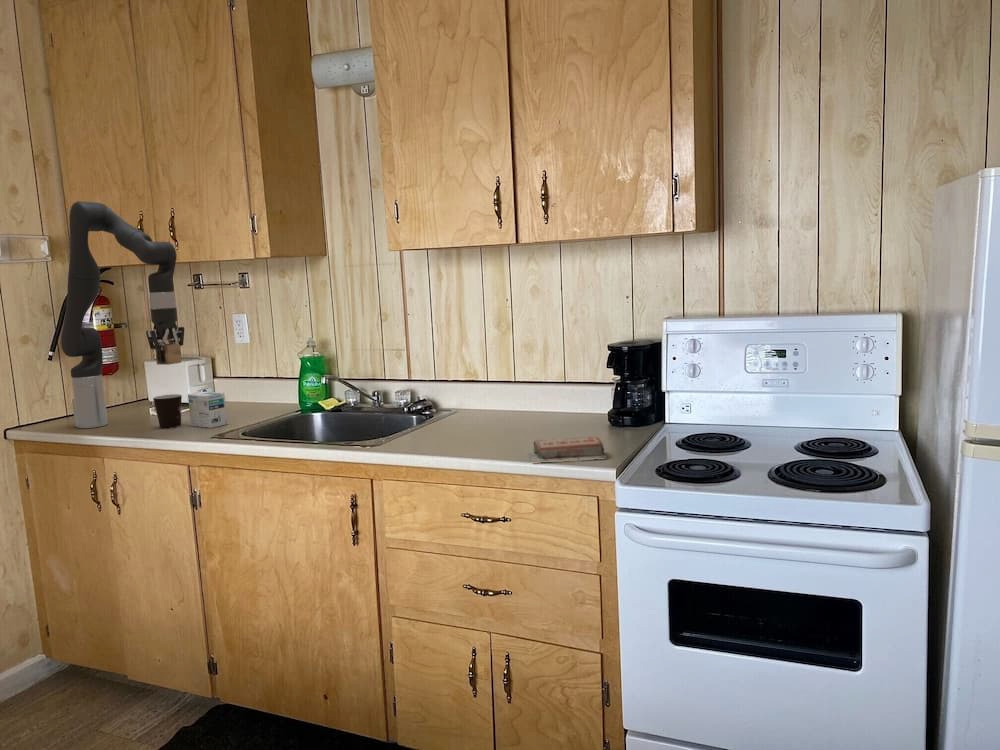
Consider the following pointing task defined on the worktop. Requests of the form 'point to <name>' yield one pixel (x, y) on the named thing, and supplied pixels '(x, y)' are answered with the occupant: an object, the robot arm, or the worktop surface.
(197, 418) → the light bulb box
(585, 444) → the packaged product
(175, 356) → the walnut block
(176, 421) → the coffee mug
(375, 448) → the worktop surface
